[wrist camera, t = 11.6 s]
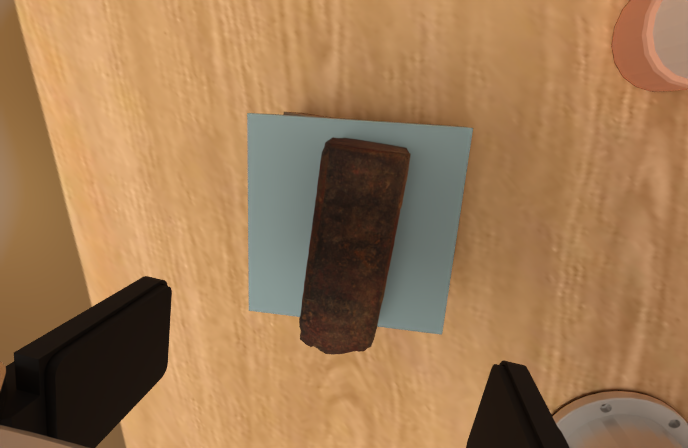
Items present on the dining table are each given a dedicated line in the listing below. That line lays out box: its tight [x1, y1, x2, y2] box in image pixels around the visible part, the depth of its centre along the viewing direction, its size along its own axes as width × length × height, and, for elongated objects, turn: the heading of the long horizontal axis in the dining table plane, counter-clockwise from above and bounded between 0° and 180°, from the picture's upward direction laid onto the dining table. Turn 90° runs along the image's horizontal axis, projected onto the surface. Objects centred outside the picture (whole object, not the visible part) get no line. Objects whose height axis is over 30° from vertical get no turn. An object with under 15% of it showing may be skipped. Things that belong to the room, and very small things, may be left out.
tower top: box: [247, 113, 473, 334], centre depth 24 cm, size 12×12×5 cm
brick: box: [299, 137, 411, 354], centre depth 20 cm, size 11×4×5 cm, turn 171°
